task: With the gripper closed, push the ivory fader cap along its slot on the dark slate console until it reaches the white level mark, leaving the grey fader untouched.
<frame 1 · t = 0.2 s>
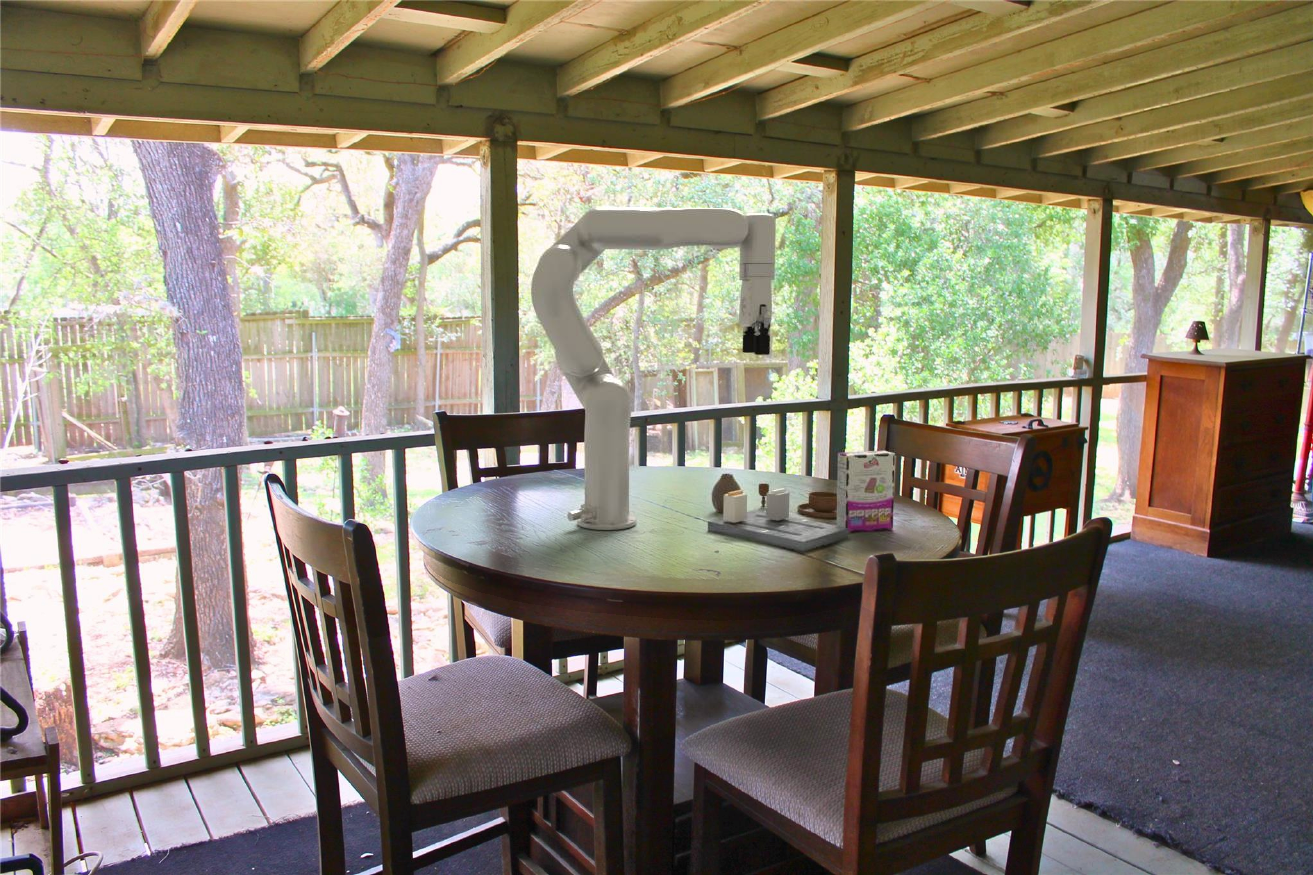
hand: (755, 353, 196), 36 cm above the table, tool pointing down, fingers open, 9 cm apart
console: (777, 534, 187), on the table
place setting: (810, 512, 211), on the table
ivory fader: (735, 505, 189), point 5 cm above the table, slide at 0.0 cm
candy bar box: (863, 529, 192), on the table
vase: (726, 512, 208), on the table
grey fader: (777, 503, 191), point 5 cm above the table, slide at 5.0 cm
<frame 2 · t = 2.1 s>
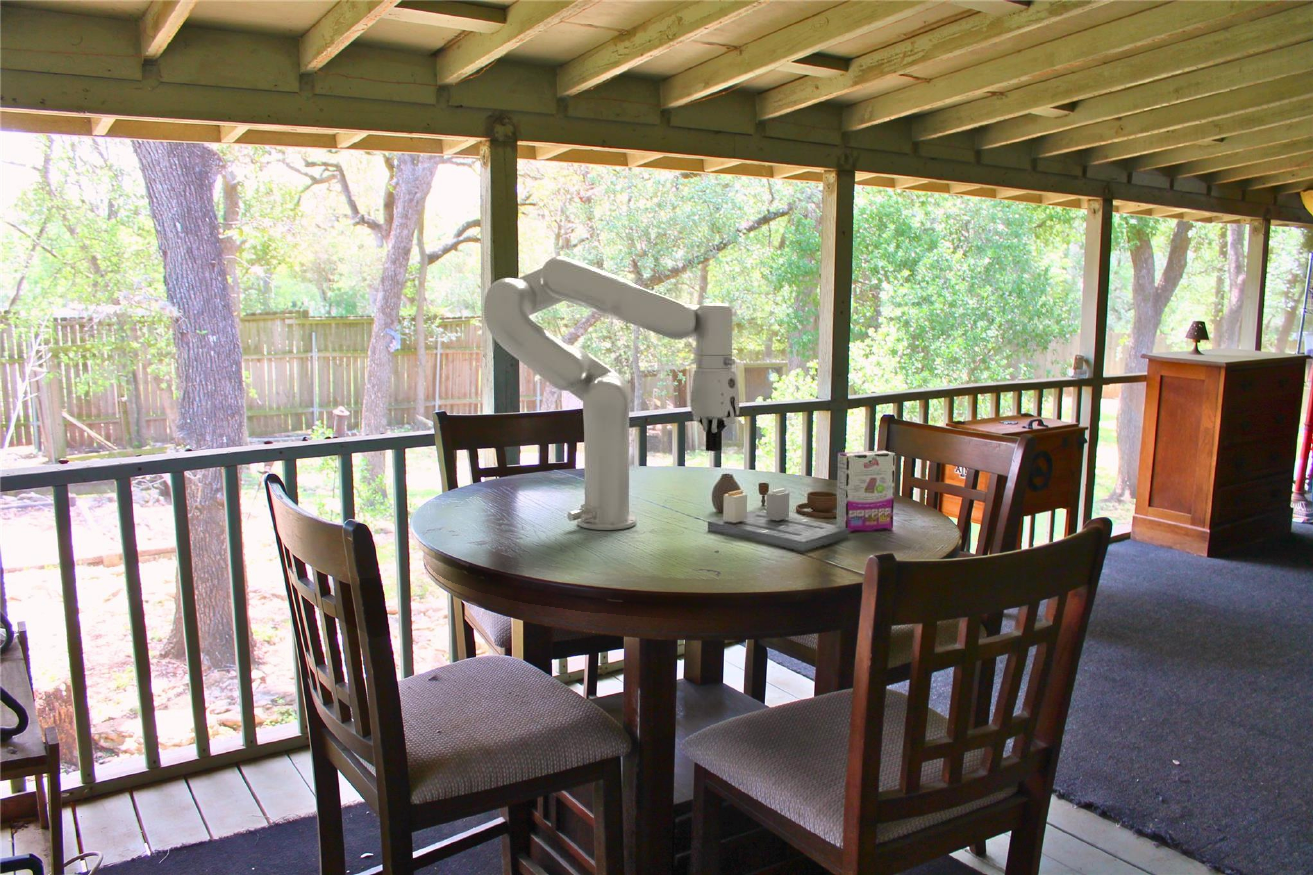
hand: (713, 450, 192), 16 cm above the table, tool pointing down, fingers closed
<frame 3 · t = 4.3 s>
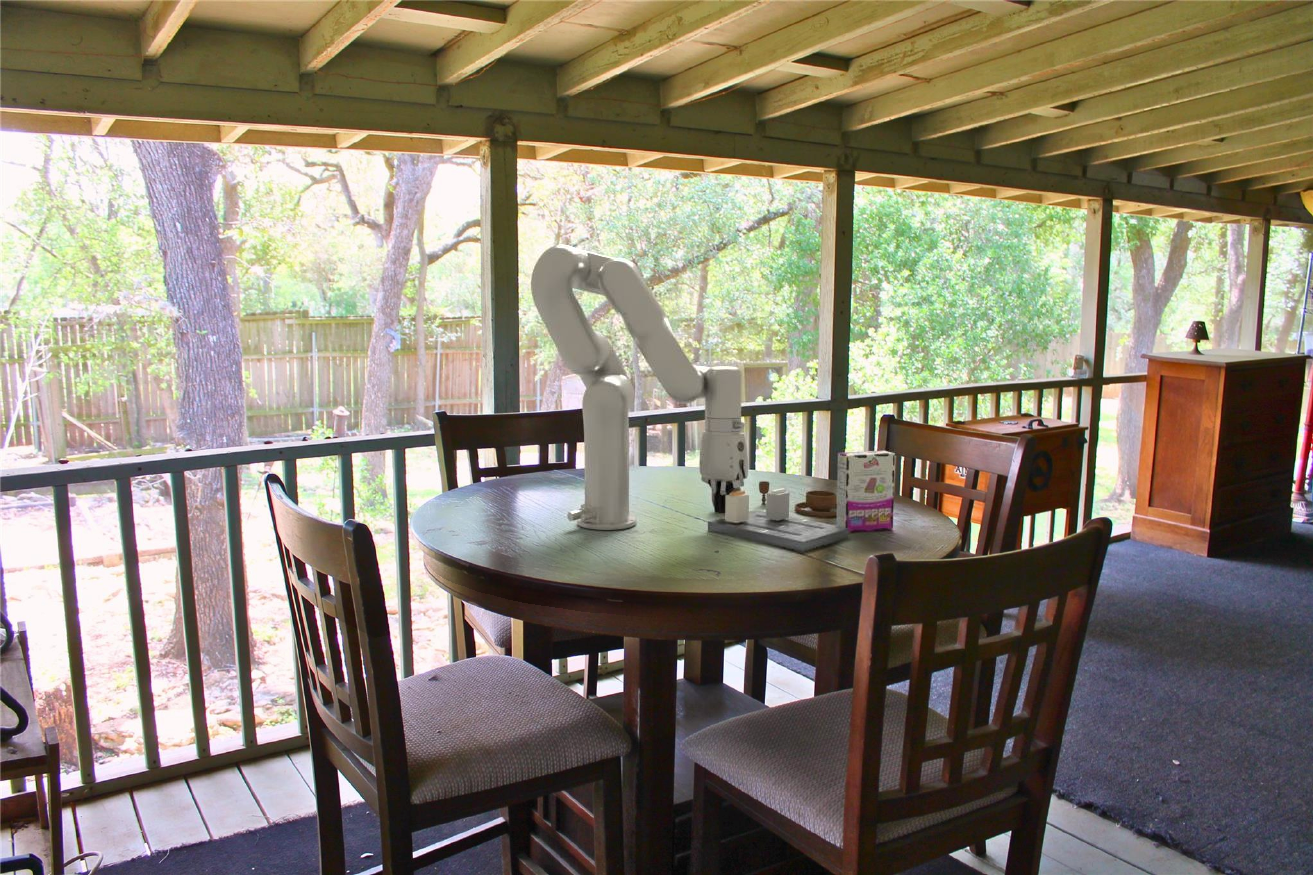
hand: (722, 511, 192), 3 cm above the table, tool pointing down, fingers closed
ivory fader: (737, 506, 189), point 5 cm above the table, slide at 0.5 cm, touching gripper
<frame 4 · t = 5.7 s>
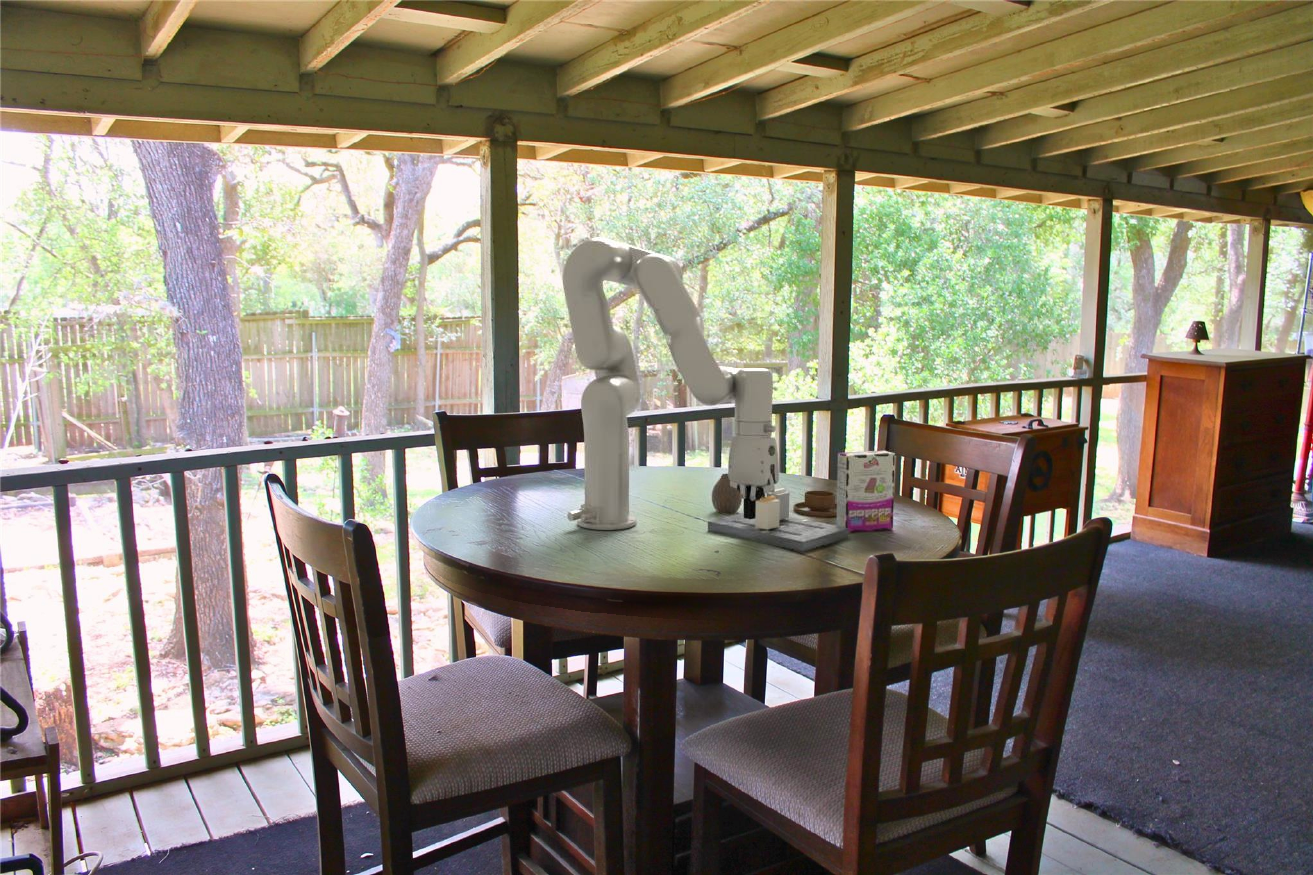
hand: (751, 517, 186), 3 cm above the table, tool pointing down, fingers closed
ivory fader: (767, 511, 183), point 5 cm above the table, slide at 8.4 cm, touching gripper
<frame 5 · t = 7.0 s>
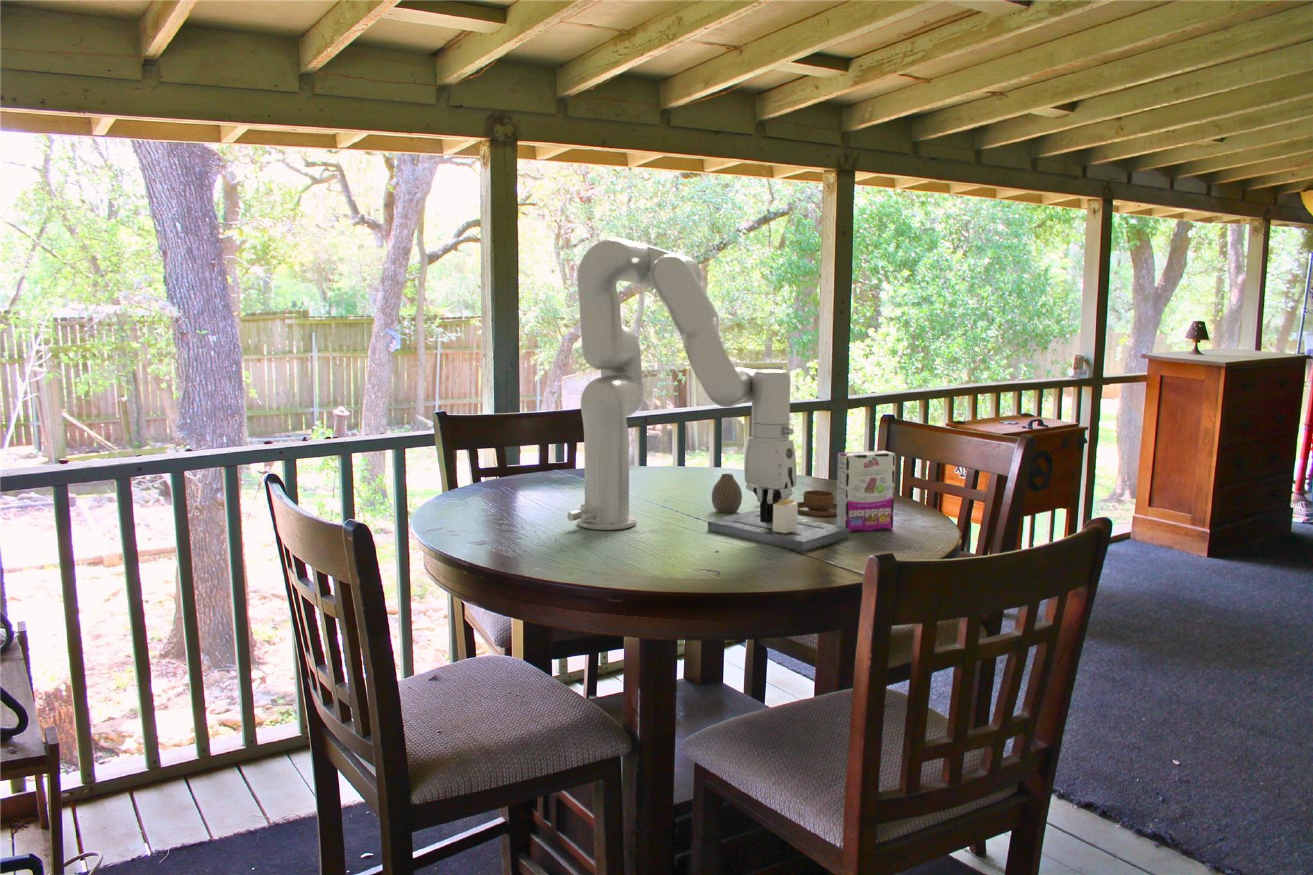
hand: (768, 521, 183), 3 cm above the table, tool pointing down, fingers closed
ivory fader: (785, 515, 180), point 5 cm above the table, slide at 12.7 cm, touching gripper
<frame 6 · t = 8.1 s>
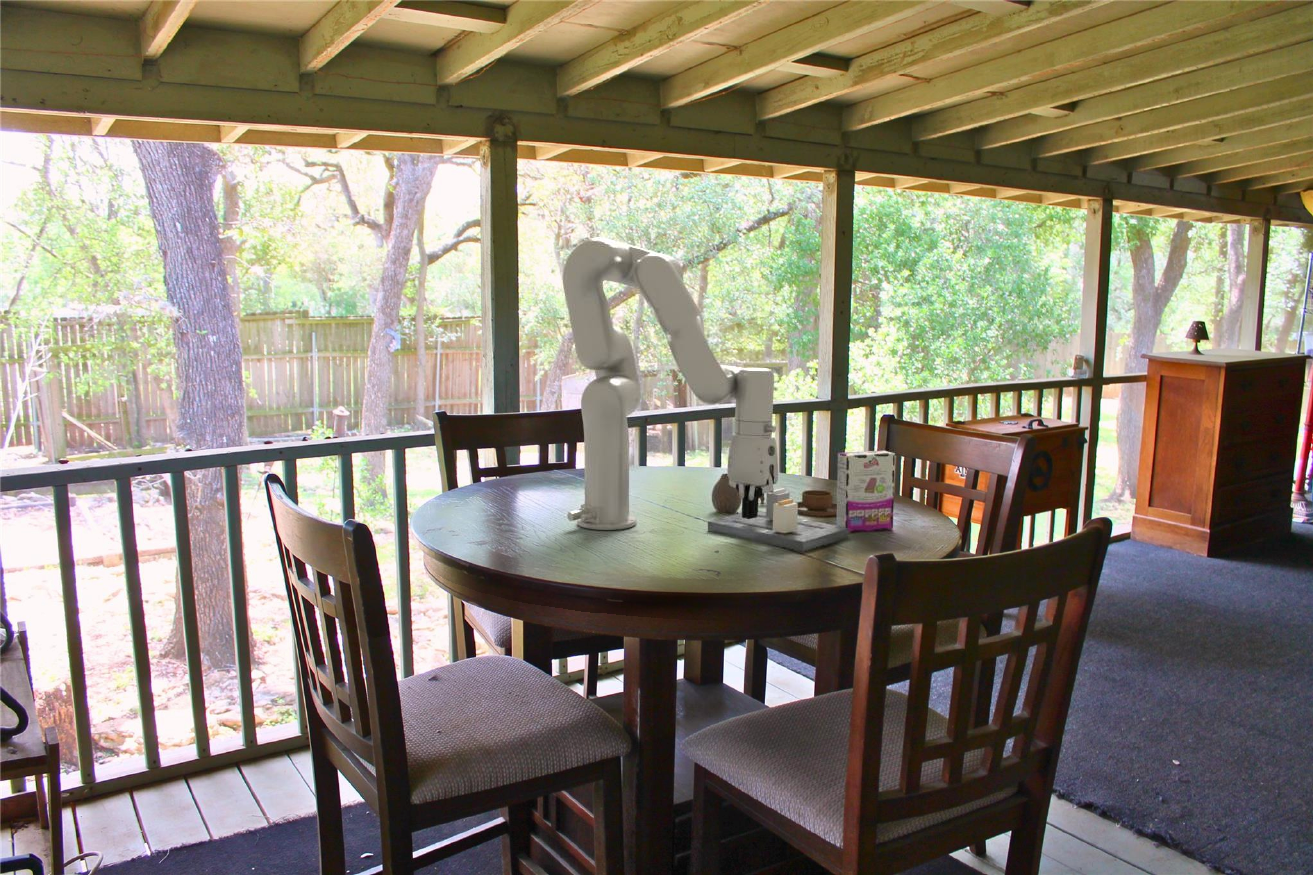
hand: (749, 517, 186), 4 cm above the table, tool pointing down, fingers closed
ivory fader: (785, 515, 180), point 5 cm above the table, slide at 12.7 cm
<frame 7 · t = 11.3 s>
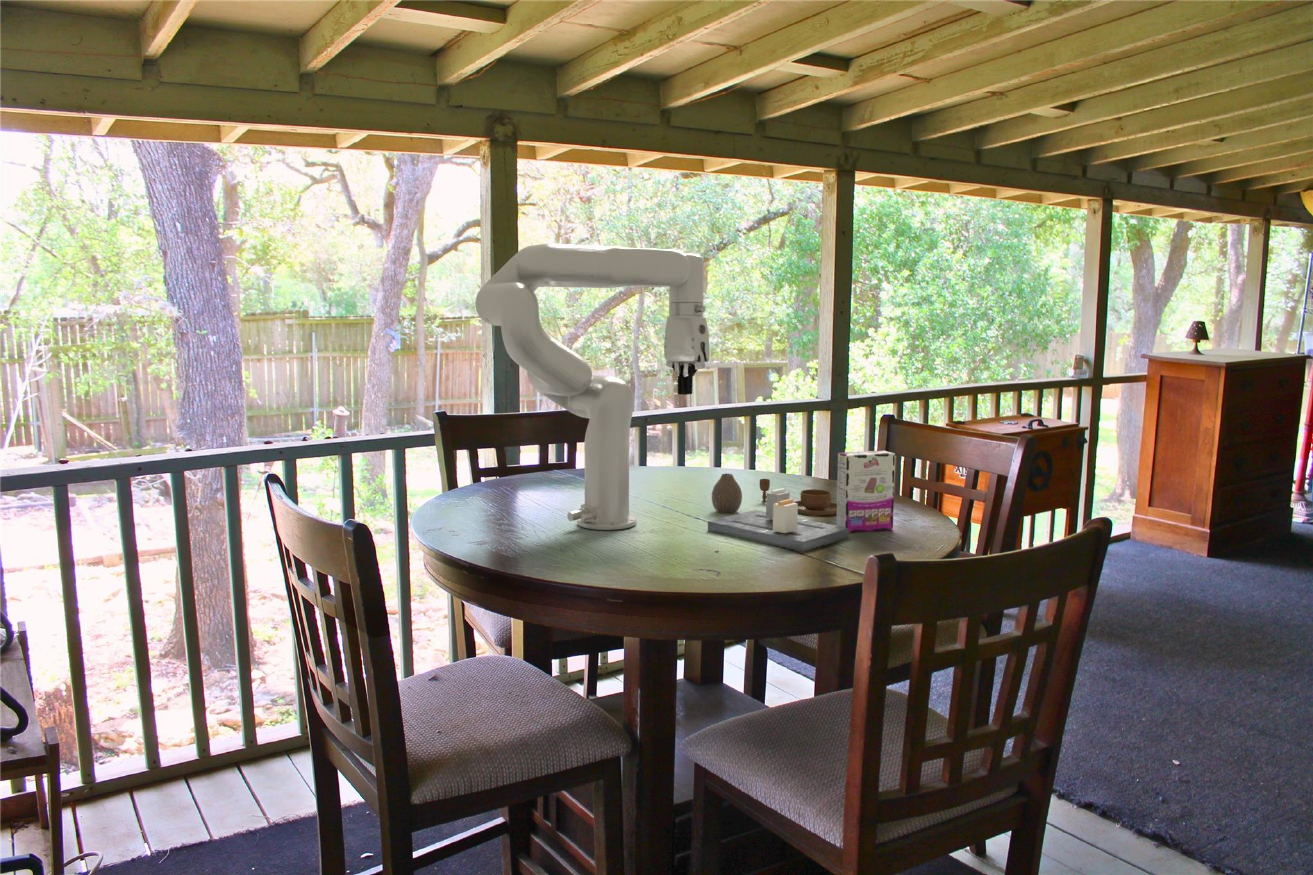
hand: (685, 394, 203), 27 cm above the table, tool pointing down, fingers closed
at the end: ivory fader slide at 12.7 cm; grey fader slide at 5.0 cm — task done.
